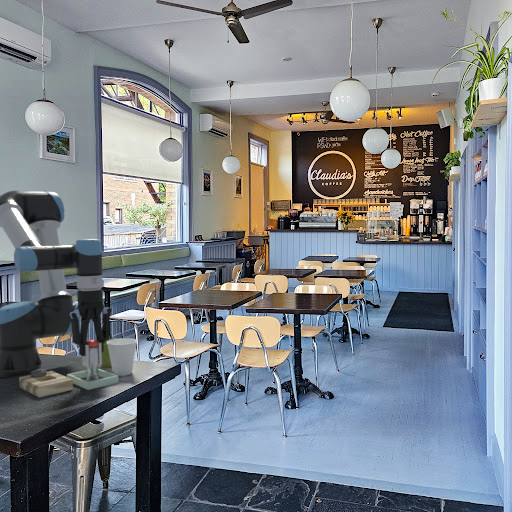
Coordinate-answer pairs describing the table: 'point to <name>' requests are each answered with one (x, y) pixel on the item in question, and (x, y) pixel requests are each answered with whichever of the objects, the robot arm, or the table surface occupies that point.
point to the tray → (107, 380)
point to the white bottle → (92, 361)
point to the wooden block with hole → (45, 383)
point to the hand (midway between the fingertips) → (92, 364)
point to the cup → (122, 355)
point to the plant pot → (106, 355)
